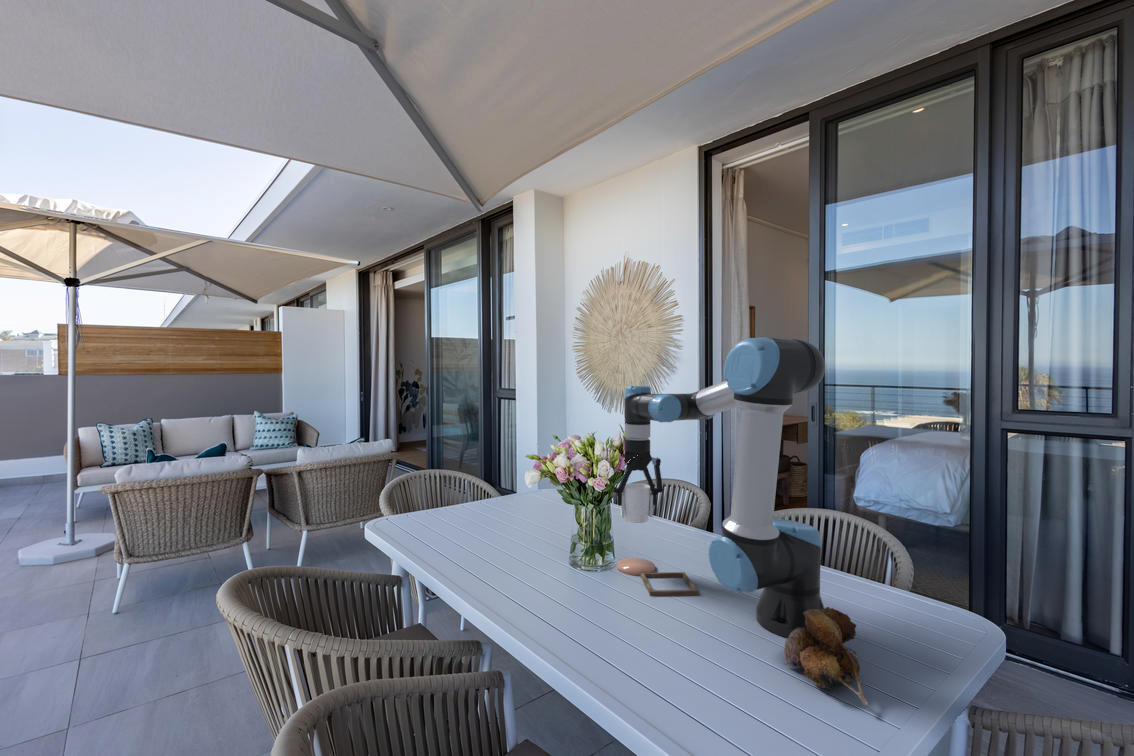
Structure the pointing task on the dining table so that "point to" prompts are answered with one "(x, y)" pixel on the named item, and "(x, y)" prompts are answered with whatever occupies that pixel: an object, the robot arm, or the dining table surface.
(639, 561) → the peach flat disc
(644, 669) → the dining table surface
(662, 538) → the dining table surface
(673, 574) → the walnut tray frame
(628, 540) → the dining table surface
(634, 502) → the white cup
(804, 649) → the seed pod
